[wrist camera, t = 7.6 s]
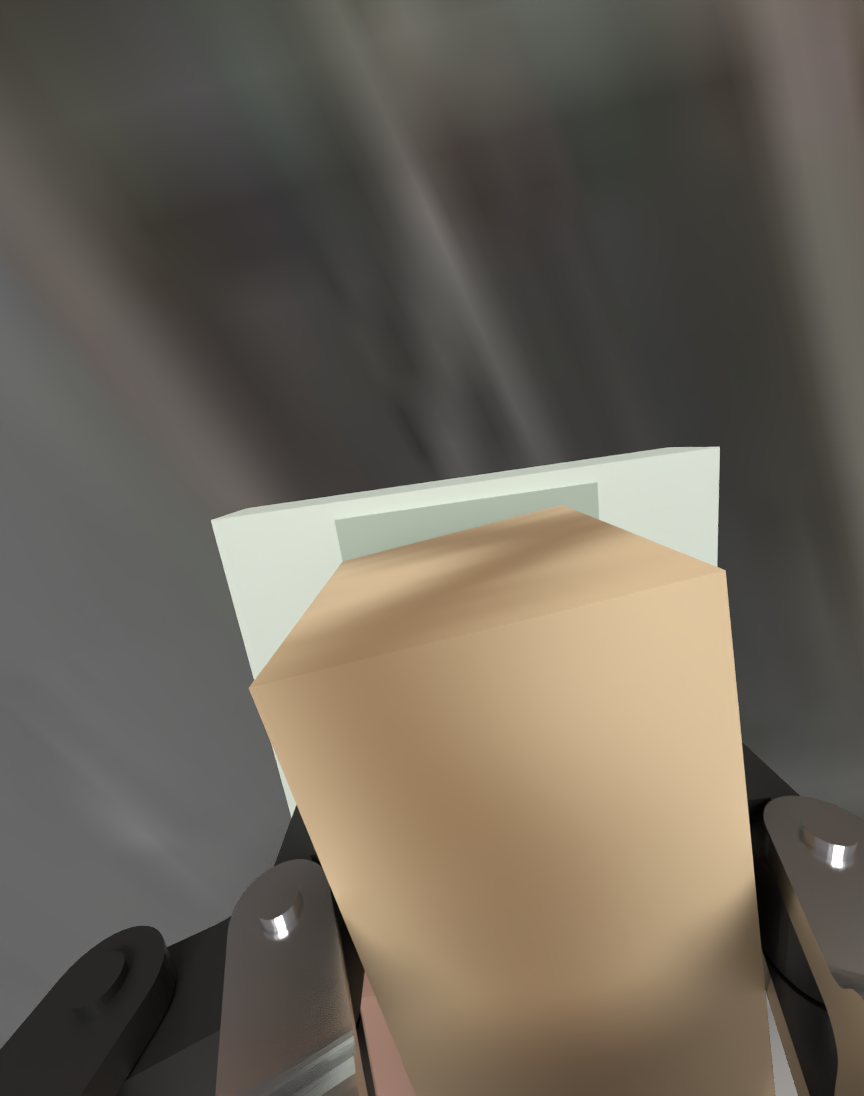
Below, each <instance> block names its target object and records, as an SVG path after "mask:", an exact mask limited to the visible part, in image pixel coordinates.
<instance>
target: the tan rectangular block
mask: <svg viewBox="0 0 864 1096" xmlns="http://www.w3.org/2000/svg"><path fill="white" fill-rule="evenodd" d="M249 690H250V692H251V695H252V697H253V700H254V702H255V705H256V707H257V709H258V712H259V714H260V717H261V719H262V722H263V724H264V726H265V729H266V731H267V734H268V736H269V739H270V741H271V743H272V746H273V748H274V751H275V753H276V756H277V758H278V761H279V763H280V765H281V768H282V770H283V773H284V775H285V778H286V780H287V782H288V785H289V787H290V790H291V792H292V795H293V797H294V799H295V802H296V804H297V807H298V809H299V812H300V814H301V817H302V819H303V821H304V824H305V826H306V829H307V831H308V834H309V836H310V838H311V841H312V843H313V846H314V848H315V851H316V853H317V855H318V858H319V860H320V863H321V865H322V868H323V870H324V872H325V875H326V877H327V880H328V882H329V885H330V887H331V890H332V892H333V894H334V897H335V899H336V902H337V904H338V907H339V909H340V911H341V914H342V916H343V919H344V921H345V924H346V926H347V928H348V931H349V933H350V936H351V938H352V941H353V943H354V945H355V948H356V950H357V953H358V955H359V958H360V960H361V963H362V965H363V967H364V970H365V972H366V975H367V977H368V980H369V982H370V984H371V987H372V989H373V992H374V994H375V997H376V999H377V1001H378V1004H379V1006H380V1009H381V1011H382V1014H383V1016H384V1018H385V1021H386V1023H387V1026H388V1028H389V1031H390V1033H391V1036H392V1038H393V1040H394V1043H395V1045H396V1048H397V1050H398V1053H399V1055H400V1057H401V1060H402V1062H403V1065H404V1067H405V1070H406V1072H407V1074H408V1077H409V1079H410V1082H411V1084H412V1087H413V1089H414V1091H415V1094H416V1096H775V1087H774V1076H773V1065H772V1056H771V1045H770V1034H769V1023H768V1013H767V1002H766V992H765V981H764V971H763V960H762V950H761V939H760V929H759V918H758V908H757V897H756V887H755V876H754V866H753V855H752V844H751V834H750V823H749V813H748V802H747V792H746V781H745V771H744V760H743V750H742V739H741V729H740V718H739V708H738V697H737V687H736V676H735V666H734V655H733V645H732V634H731V624H730V613H729V603H728V592H727V582H726V571H725V570H723V569H721V568H718V567H716V566H713V565H711V564H708V563H706V562H703V561H701V560H698V559H696V558H693V557H691V556H688V555H686V554H683V553H681V552H678V551H676V550H673V549H671V548H668V547H666V546H663V545H661V544H658V543H656V542H654V541H651V540H649V539H646V538H644V537H641V536H639V535H636V534H634V533H631V532H629V531H626V530H624V529H621V528H619V527H616V526H614V525H611V524H609V523H606V522H604V521H601V520H599V519H596V518H594V517H591V516H589V515H586V514H584V513H581V512H579V511H576V510H574V509H571V508H569V507H566V506H564V505H560V506H556V507H552V508H548V509H544V510H540V511H536V512H533V513H529V514H525V515H521V516H517V517H513V518H509V519H505V520H502V521H498V522H494V523H490V524H486V525H482V526H478V527H474V528H471V529H467V530H463V531H459V532H455V533H451V534H447V535H443V536H440V537H436V538H432V539H428V540H424V541H420V542H416V543H412V544H409V545H405V546H401V547H397V548H393V549H389V550H385V551H381V552H378V553H374V554H370V555H366V556H362V557H358V558H354V559H350V560H347V561H343V562H342V563H341V564H340V565H339V567H338V568H337V569H336V571H335V572H334V574H333V575H332V576H331V578H330V579H329V580H328V582H327V583H326V584H325V586H324V587H323V588H322V590H321V591H320V592H319V594H318V595H317V596H316V598H315V599H314V601H313V602H312V603H311V605H310V606H309V607H308V609H307V610H306V611H305V613H304V614H303V615H302V617H301V618H300V619H299V621H298V622H297V623H296V625H295V626H294V628H293V629H292V630H291V632H290V633H289V634H288V636H287V637H286V638H285V640H284V641H283V642H282V644H281V645H280V646H279V648H278V649H277V650H276V652H275V653H274V655H273V656H272V657H271V659H270V660H269V661H268V663H267V664H266V665H265V667H264V668H263V669H262V671H261V672H260V673H259V675H258V676H257V677H256V679H255V680H254V682H253V683H252V684H251V686H250V687H249Z"/></svg>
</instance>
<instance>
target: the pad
mask: <svg viewBox="0 0 864 1096" xmlns="http://www.w3.org/2000/svg"><path fill="white" fill-rule="evenodd" d="M719 459H720V447H669V448H662V449H655V450H648V451H641V452H634V453H627V454H620V455H613V456H606V457H599V458H593V459H586V460H579V461H572V462H565V463H558V464H551V465H544V466H537V467H530V468H523V469H516V470H509V471H503V472H496V473H489V474H482V475H475V476H468V477H461V478H454V479H447V480H440V481H433V482H426V483H419V484H413V485H406V486H399V487H392V488H385V489H378V490H371V491H364V492H357V493H350V494H343V495H336V496H329V497H323V498H316V499H309V500H302V501H295V502H288V503H281V504H274V505H267V506H260V507H253V508H246V509H243V510H240V511H237V512H234V513H231V514H228V515H225V516H222V517H219V518H216V519H213V520H211V523H212V526H213V530H214V534H215V537H216V541H217V545H218V548H219V552H220V556H221V560H222V563H223V567H224V571H225V574H226V578H227V582H228V585H229V589H230V593H231V596H232V600H233V604H234V607H235V611H236V615H237V618H238V622H239V626H240V629H241V633H242V637H243V640H244V644H245V648H246V652H247V655H248V659H249V663H250V666H251V670H252V674H253V677H254V680H255V679H256V677H257V676H258V675H259V673H260V672H261V671H262V669H263V668H264V667H265V665H266V664H267V663H268V661H269V660H270V659H271V657H272V656H273V655H274V653H275V652H276V650H277V649H278V648H279V646H280V645H281V644H282V642H283V641H284V640H285V638H286V637H287V636H288V634H289V633H290V632H291V630H292V629H293V628H294V626H295V625H296V623H297V622H298V621H299V619H300V618H301V617H302V615H303V614H304V613H305V611H306V610H307V609H308V607H309V606H310V605H311V603H312V602H313V601H314V599H315V598H316V596H317V595H318V594H319V592H320V591H321V590H322V588H323V587H324V586H325V584H326V583H327V582H328V580H329V579H330V578H331V576H332V575H333V574H334V572H335V571H336V569H337V568H338V567H339V565H340V564H341V563H342V562H343V561H347V560H350V559H354V558H358V557H362V556H366V555H370V554H374V553H378V552H381V551H385V550H389V549H393V548H397V547H401V546H405V545H409V544H412V543H416V542H420V541H424V540H428V539H432V538H436V537H440V536H443V535H447V534H451V533H455V532H459V531H463V530H467V529H471V528H474V527H478V526H482V525H486V524H490V523H494V522H498V521H502V520H505V519H509V518H513V517H517V516H521V515H525V514H529V513H533V512H536V511H540V510H544V509H548V508H552V507H556V506H560V505H564V506H566V507H569V508H571V509H574V510H576V511H579V512H581V513H584V514H586V515H589V516H591V517H594V518H596V519H599V520H601V521H604V522H606V523H609V524H611V525H614V526H616V527H619V528H621V529H624V530H626V531H629V532H631V533H634V534H636V535H639V536H641V537H644V538H646V539H649V540H651V541H654V542H656V543H658V544H661V545H663V546H666V547H668V548H671V549H673V550H676V551H678V552H681V553H683V554H686V555H688V556H691V557H693V558H696V559H698V560H701V561H703V562H706V563H708V564H711V565H713V566H716V567H717V548H718V503H719ZM271 744H272V743H271ZM272 747H273V746H272ZM273 751H274V748H273ZM274 755H275V758H276V762H277V766H278V769H279V773H280V777H281V780H282V784H283V788H284V791H285V795H286V799H287V802H288V806H289V810H290V813H291V817H292V816H293V813H294V810H295V807H296V805H297V804H296V802H295V799H294V797H293V795H292V792H291V790H290V787H289V785H288V782H287V780H286V778H285V775H284V773H283V770H282V768H281V765H280V763H279V761H278V758H277V756H276V753H275V751H274Z"/></svg>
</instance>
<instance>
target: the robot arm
mask: <svg viewBox="0 0 864 1096" xmlns="http://www.w3.org/2000/svg"><path fill="white" fill-rule="evenodd" d="M742 750H743V760H744V771H745V781H746V792H747V802H748V813H749V823H750V834H751V844H752V855H753V866H754V876H755V887H756V897H757V908H758V918H759V929H760V939H761V950H762V960H763V971H764V981H765V990H766V994H767V997H768V1000H769V1003H770V1006H771V1010H772V1013H773V1016H774V1019H775V1022H776V1026H777V1029H778V1032H779V1035H780V1039H781V1042H782V1045H783V1048H784V1051H785V1055H786V1058H787V1061H788V1064H789V1067H790V1070H791V1074H792V1077H793V1080H794V1084H795V1087H796V1090H797V1093H798V1096H864V820H862V819H861V818H859V817H857V816H856V815H854V814H852V813H850V812H848V811H846V810H844V809H842V808H840V807H838V806H836V805H833V804H830V803H828V802H825V801H821V800H818V799H814V798H809V797H804V796H800V795H799V794H797V793H796V792H795V791H794V790H793V789H792V788H791V787H790V786H789V785H788V784H787V783H786V782H784V781H783V780H782V779H781V778H780V777H779V776H778V775H777V774H776V773H775V772H774V771H773V770H771V769H770V768H769V767H768V766H767V765H766V764H765V763H764V762H763V761H762V760H761V759H760V758H758V757H757V756H756V755H755V754H754V753H753V752H752V751H751V750H750V749H749V748H748V747H747V746H746V745H744V744H743V743H742ZM364 973H365V970H364V967H363V965H362V963H361V960H360V958H359V955H358V953H357V950H356V948H355V945H354V943H353V941H352V938H351V936H350V933H349V931H348V928H347V926H346V924H345V921H344V919H343V916H342V914H341V911H340V909H339V907H338V904H337V902H336V899H335V897H334V894H333V892H332V890H331V887H330V885H329V882H328V880H327V877H326V875H325V872H324V870H323V868H322V865H321V863H320V860H319V858H318V855H317V853H316V851H315V848H314V846H313V843H312V841H311V838H310V836H309V834H308V831H307V829H306V826H305V824H304V821H303V819H302V817H301V814H300V812H299V809H298V807H297V805H296V807H295V810H294V813H293V816H292V818H291V821H290V824H289V827H288V829H287V832H286V835H285V838H284V841H283V843H282V846H281V849H280V852H279V854H278V857H277V860H276V863H275V865H274V867H273V868H271V869H269V870H268V871H266V872H265V873H263V874H262V875H261V876H260V877H259V878H257V879H256V880H255V881H254V882H253V883H252V884H251V885H250V886H249V887H248V889H247V890H246V891H245V892H244V894H243V895H242V896H241V898H240V900H239V901H238V903H237V904H236V907H235V909H234V911H233V913H232V916H231V917H229V918H228V919H226V920H224V921H222V922H220V923H219V924H217V925H215V926H212V927H210V928H208V929H206V930H204V931H202V932H199V933H197V934H195V935H193V936H191V937H189V938H186V939H184V940H182V941H180V942H178V943H175V944H173V945H171V946H169V947H167V946H166V944H165V941H164V939H163V936H162V935H161V933H160V932H159V931H158V930H157V929H155V928H153V927H150V926H136V927H131V928H128V929H125V930H122V931H120V932H118V933H116V934H114V935H112V936H110V937H108V938H107V939H105V940H103V941H102V942H100V943H99V944H98V945H96V946H95V947H93V948H92V949H91V950H89V951H88V952H87V953H86V954H85V955H83V956H82V957H81V958H80V959H79V960H78V961H77V962H76V963H75V964H74V965H73V966H71V967H70V968H69V969H68V971H67V972H66V973H65V974H64V975H63V976H62V977H61V978H60V979H59V981H58V982H57V983H56V984H55V985H54V987H53V988H52V989H51V990H50V991H49V992H48V994H47V995H46V996H45V997H44V998H43V1000H42V1001H41V1002H40V1003H39V1004H38V1006H37V1007H36V1008H35V1009H34V1010H33V1011H32V1013H31V1014H30V1015H29V1016H28V1017H27V1019H26V1020H25V1021H24V1022H23V1023H22V1025H21V1026H20V1027H19V1028H18V1029H17V1030H16V1032H15V1033H14V1034H13V1035H12V1036H11V1038H10V1039H9V1040H8V1041H7V1042H6V1044H5V1045H4V1046H3V1047H2V1048H1V1049H0V1096H378V1094H377V1089H376V1083H375V1078H374V1073H373V1067H372V1062H371V1057H370V1051H369V1046H368V1040H367V1035H366V1030H365V1024H364V1019H363V1014H362V1010H361V999H362V990H363V982H364Z"/></svg>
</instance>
